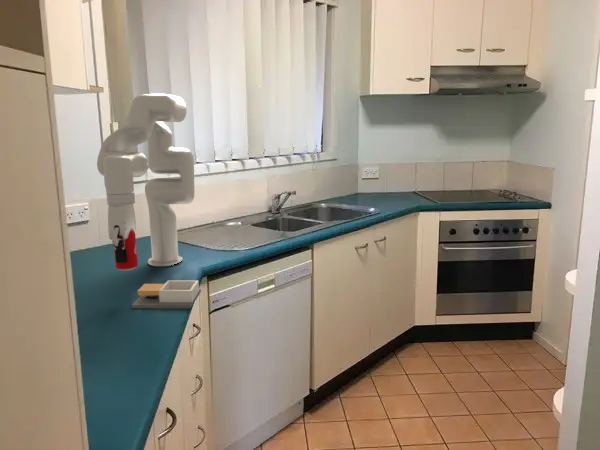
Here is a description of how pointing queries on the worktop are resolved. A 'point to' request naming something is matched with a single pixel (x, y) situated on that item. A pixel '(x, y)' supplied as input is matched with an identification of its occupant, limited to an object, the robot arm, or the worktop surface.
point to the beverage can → (129, 253)
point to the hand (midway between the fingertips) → (126, 258)
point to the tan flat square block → (150, 289)
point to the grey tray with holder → (172, 295)
